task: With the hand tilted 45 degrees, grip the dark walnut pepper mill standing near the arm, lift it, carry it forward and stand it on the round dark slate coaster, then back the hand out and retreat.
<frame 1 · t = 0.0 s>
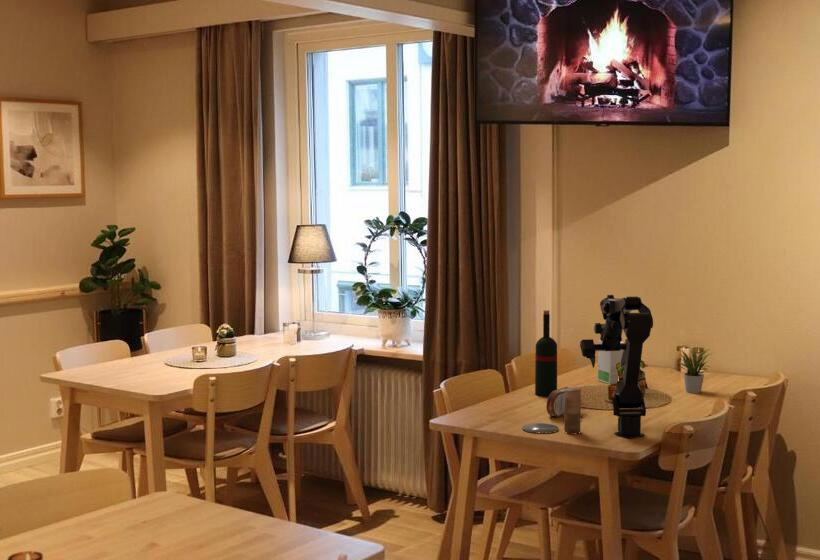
hand: (607, 366, 338), 15 cm above the table, tool tilted 35°, fingers open, 9 cm apart
skincare box: (610, 382, 387), on the table
coaster: (540, 429, 317), on the table
pepper mill: (572, 432, 313), on the table
tin: (561, 415, 336), on the table
wine bottle: (547, 394, 367), on the table
house plant: (697, 392, 368), on the table
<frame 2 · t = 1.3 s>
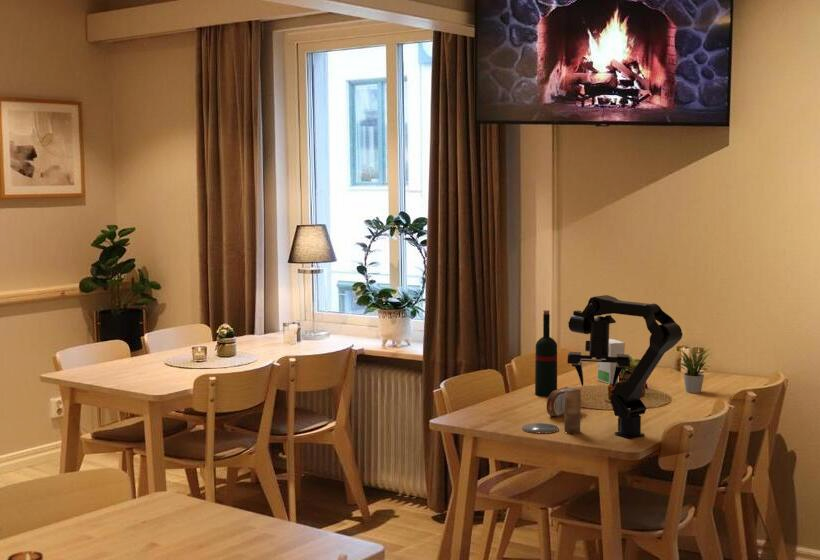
hand: (597, 386, 316), 13 cm above the table, tool pointing down, fingers open, 9 cm apart
nothing on the table moved.
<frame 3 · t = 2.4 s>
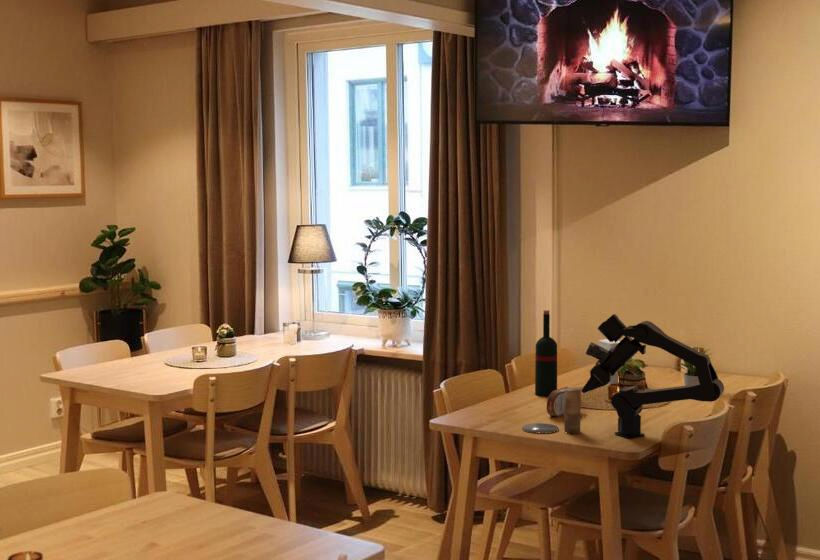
hand: (584, 388, 311), 13 cm above the table, tool tilted 45°, fingers open, 9 cm apart
nothing on the table moved.
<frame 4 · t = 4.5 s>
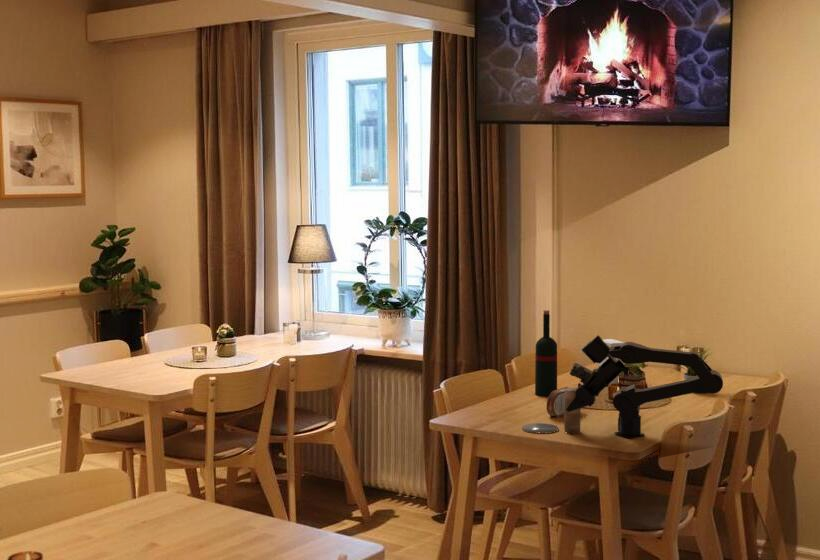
hand: (567, 408, 312), 7 cm above the table, tool tilted 45°, fingers closed on pepper mill, 5 cm apart
pepper mill: (572, 432, 313), on the table, touching gripper
everything else where it was.
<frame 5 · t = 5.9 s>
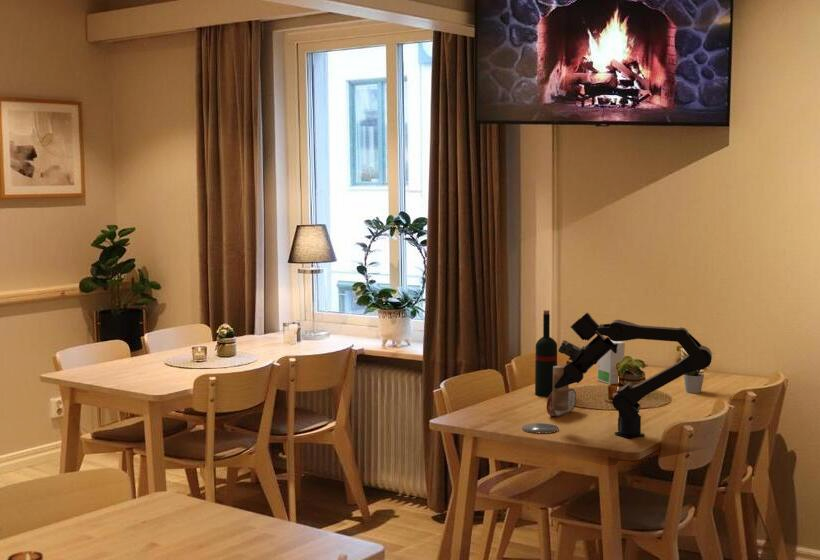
hand: (555, 386, 313), 14 cm above the table, tool tilted 45°, fingers closed on pepper mill, 5 cm apart
pepper mill: (560, 409, 313), point 7 cm above the table, touching gripper
everything else where it was.
when the fingers open (9 cm above the table, at t = 7.5 s): pepper mill drops 1 cm, resting on coaster.
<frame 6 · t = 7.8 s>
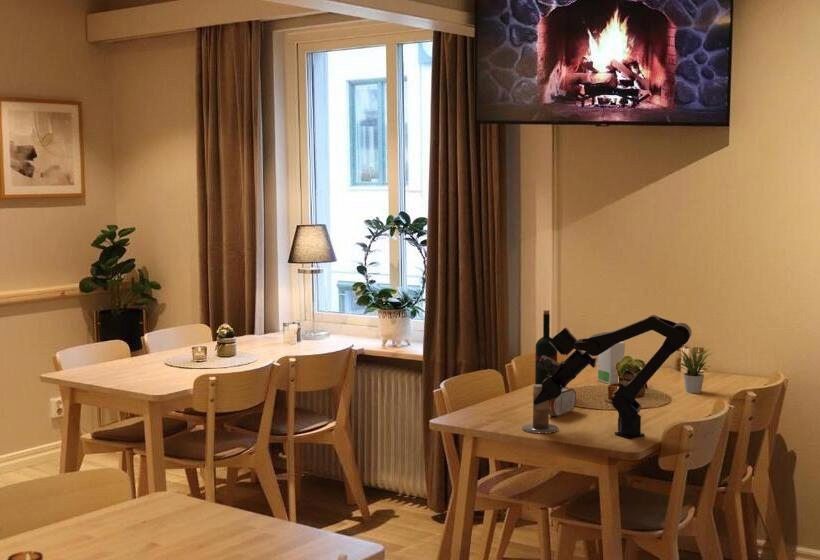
hand: (535, 400, 316), 9 cm above the table, tool tilted 45°, fingers open, 8 cm apart
pepper mill: (540, 427, 317), point 1 cm above the table, touching coaster
everything else where it was.
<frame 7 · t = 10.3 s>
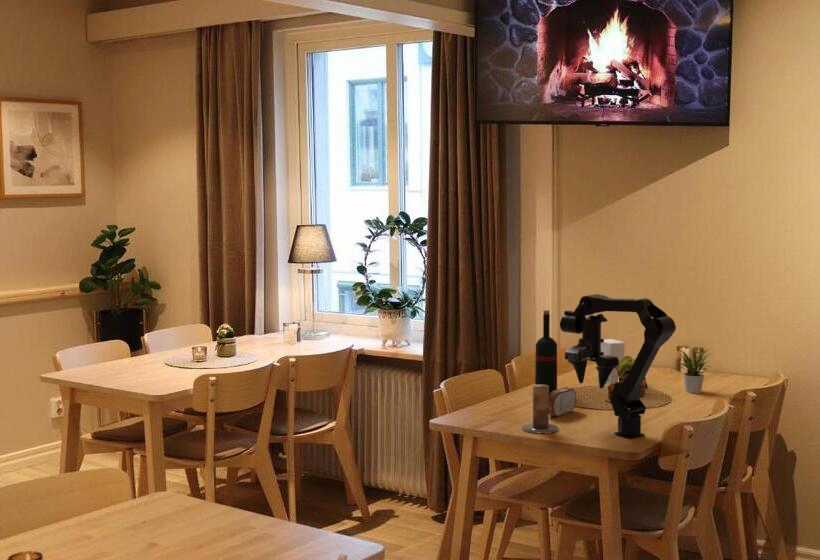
hand: (591, 385, 318), 13 cm above the table, tool pointing down, fingers open, 9 cm apart
nothing on the table moved.
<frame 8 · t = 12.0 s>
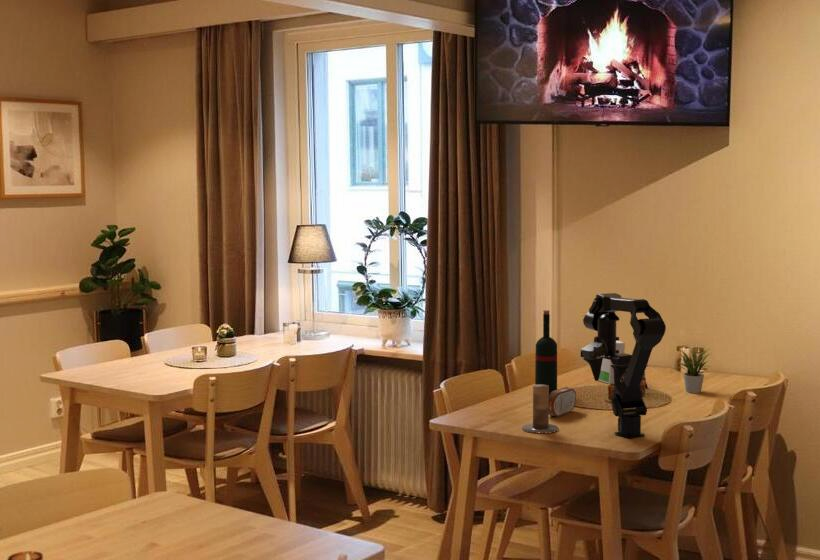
hand: (606, 383, 321), 13 cm above the table, tool pointing down, fingers open, 9 cm apart
nothing on the table moved.
at the end: pepper mill inside the target area on the coaster (0.1 cm from its centre), point 0.5 cm above the coaster's base; pepper mill tilted 0°; the gripper is holding nothing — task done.
